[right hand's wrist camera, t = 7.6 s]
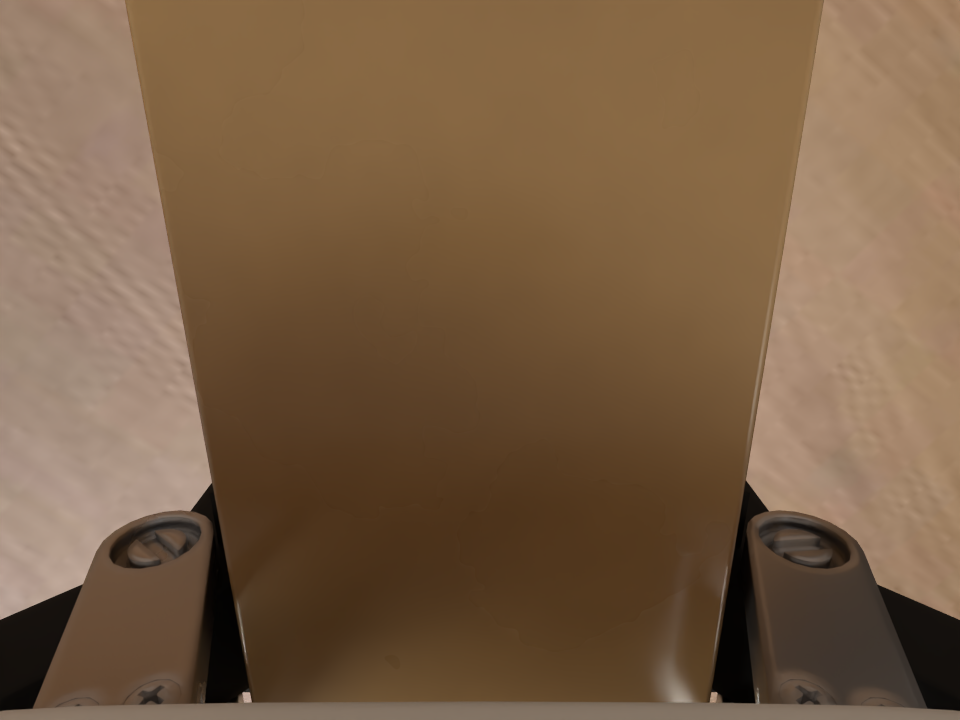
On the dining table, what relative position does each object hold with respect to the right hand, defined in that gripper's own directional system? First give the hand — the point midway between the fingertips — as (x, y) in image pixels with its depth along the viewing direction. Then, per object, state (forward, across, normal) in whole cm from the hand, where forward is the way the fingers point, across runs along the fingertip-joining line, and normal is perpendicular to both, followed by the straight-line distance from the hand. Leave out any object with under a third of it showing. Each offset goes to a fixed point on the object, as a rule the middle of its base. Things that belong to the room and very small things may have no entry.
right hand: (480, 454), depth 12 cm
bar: (+2, 0, -28) cm, 28 cm away
